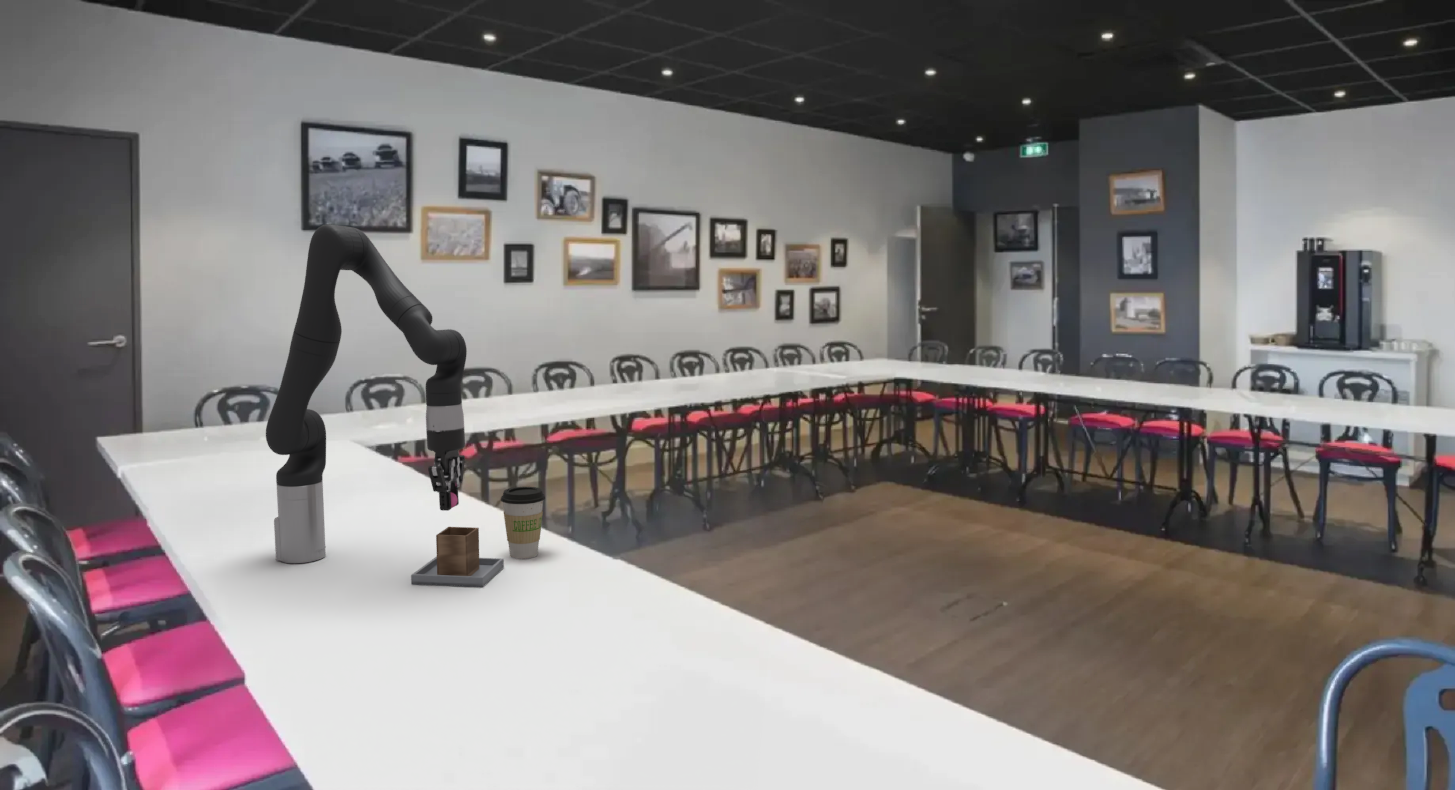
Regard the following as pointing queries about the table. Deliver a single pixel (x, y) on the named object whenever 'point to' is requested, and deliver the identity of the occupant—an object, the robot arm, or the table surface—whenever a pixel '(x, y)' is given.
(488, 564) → the tray
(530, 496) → the coffee cup
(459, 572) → the pen cup
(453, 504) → the ball
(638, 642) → the table surface
